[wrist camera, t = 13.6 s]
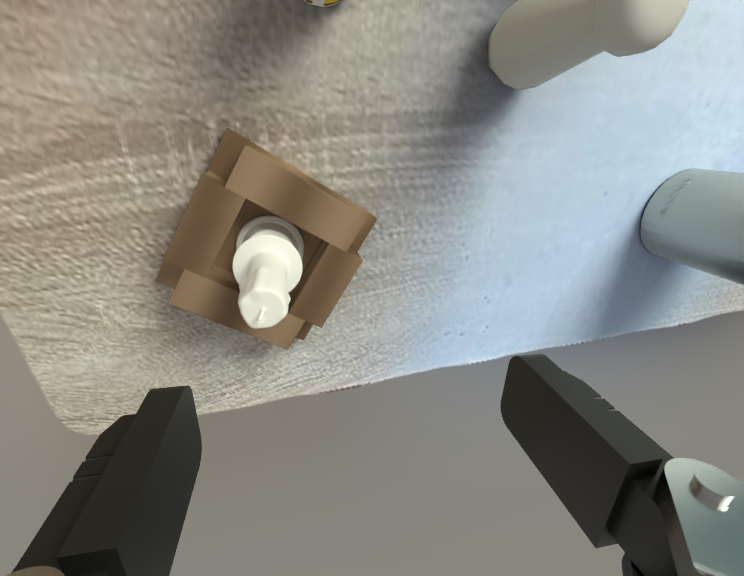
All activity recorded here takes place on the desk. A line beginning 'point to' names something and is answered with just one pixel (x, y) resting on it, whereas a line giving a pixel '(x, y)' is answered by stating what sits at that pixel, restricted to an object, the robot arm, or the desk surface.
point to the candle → (267, 269)
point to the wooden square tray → (236, 208)
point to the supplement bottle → (323, 2)
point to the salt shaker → (574, 34)
